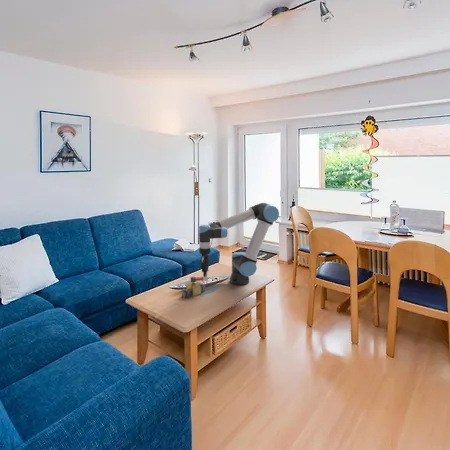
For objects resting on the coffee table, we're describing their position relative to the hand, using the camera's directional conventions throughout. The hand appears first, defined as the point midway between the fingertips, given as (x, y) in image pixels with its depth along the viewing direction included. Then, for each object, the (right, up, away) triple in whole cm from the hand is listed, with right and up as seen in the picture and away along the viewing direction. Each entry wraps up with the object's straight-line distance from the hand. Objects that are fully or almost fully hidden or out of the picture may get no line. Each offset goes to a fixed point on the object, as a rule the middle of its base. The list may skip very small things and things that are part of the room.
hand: (205, 280), depth 221 cm
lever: (-5, 0, +1) cm, 5 cm away
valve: (-8, -10, +2) cm, 13 cm away
